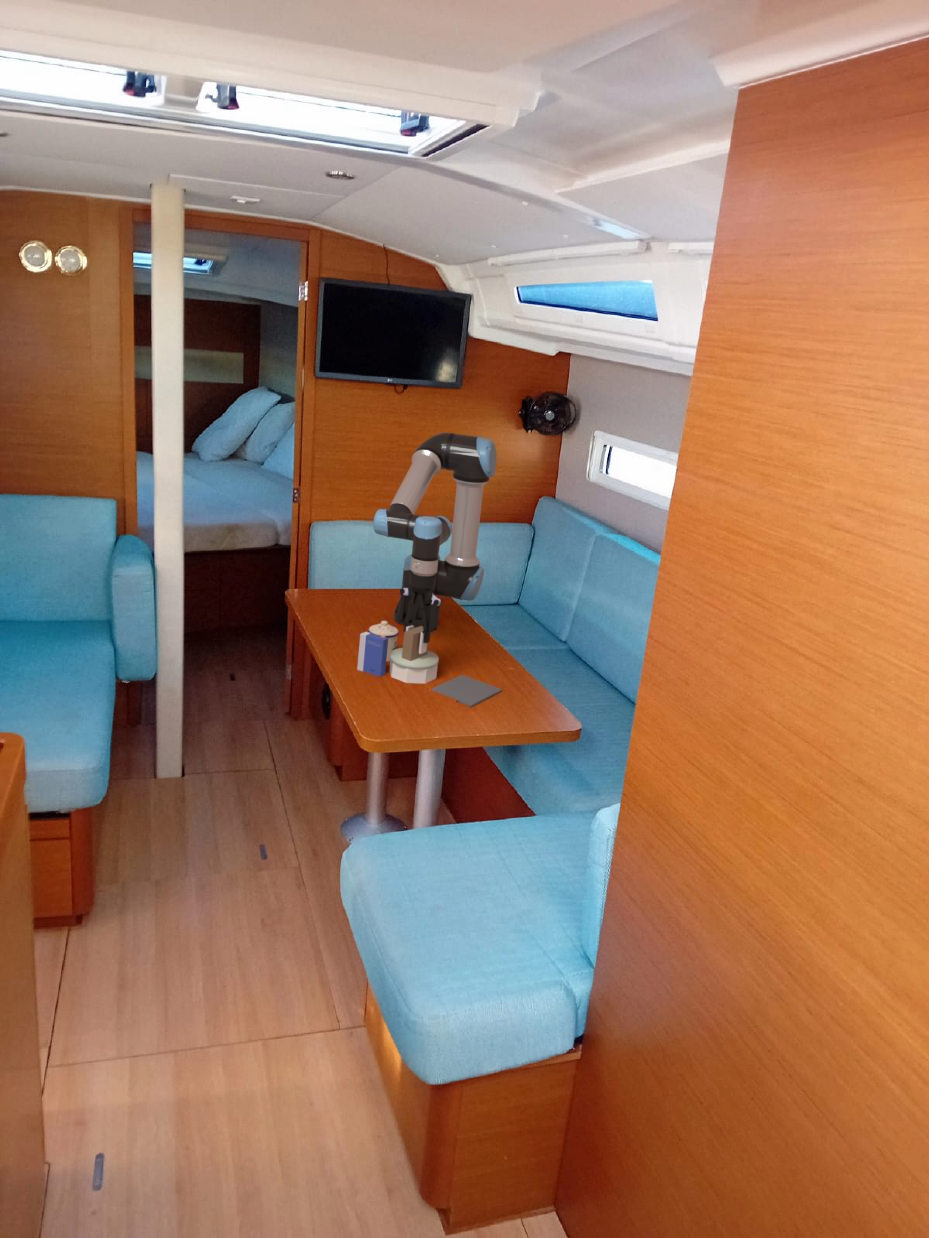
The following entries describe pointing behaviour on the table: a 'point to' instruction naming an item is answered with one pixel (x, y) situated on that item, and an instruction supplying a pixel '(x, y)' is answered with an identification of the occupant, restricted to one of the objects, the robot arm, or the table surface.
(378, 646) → the walkman
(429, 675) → the bowl
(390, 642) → the teacup with lid
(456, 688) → the mat
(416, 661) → the lid
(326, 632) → the table surface
